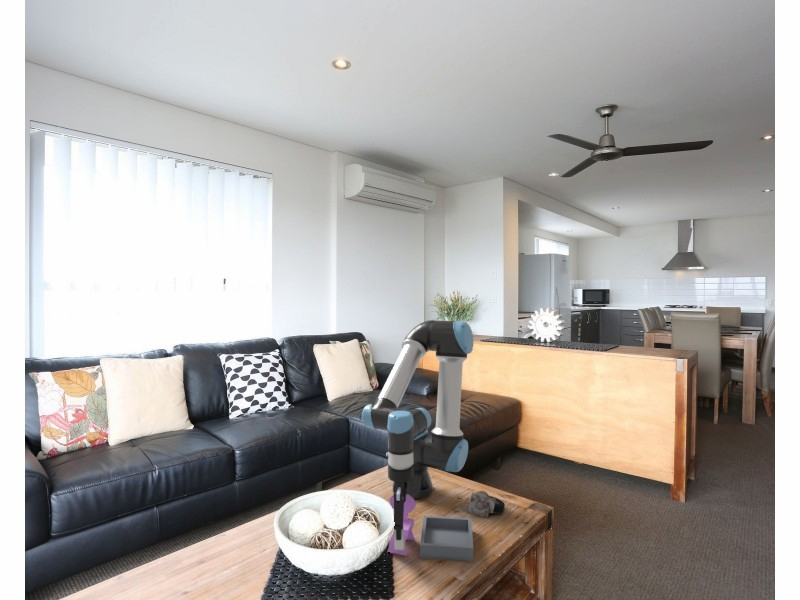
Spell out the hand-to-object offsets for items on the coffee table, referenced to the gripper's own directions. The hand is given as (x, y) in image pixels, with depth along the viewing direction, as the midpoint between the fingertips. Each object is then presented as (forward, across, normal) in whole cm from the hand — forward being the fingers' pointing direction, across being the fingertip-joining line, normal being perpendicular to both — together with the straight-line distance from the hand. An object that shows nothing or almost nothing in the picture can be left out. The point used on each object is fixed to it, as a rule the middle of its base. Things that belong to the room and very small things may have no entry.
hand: (401, 539), depth 134 cm
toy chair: (+3, 0, 0) cm, 3 cm away
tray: (+2, -3, +14) cm, 14 cm away
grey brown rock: (+3, -24, +27) cm, 36 cm away
